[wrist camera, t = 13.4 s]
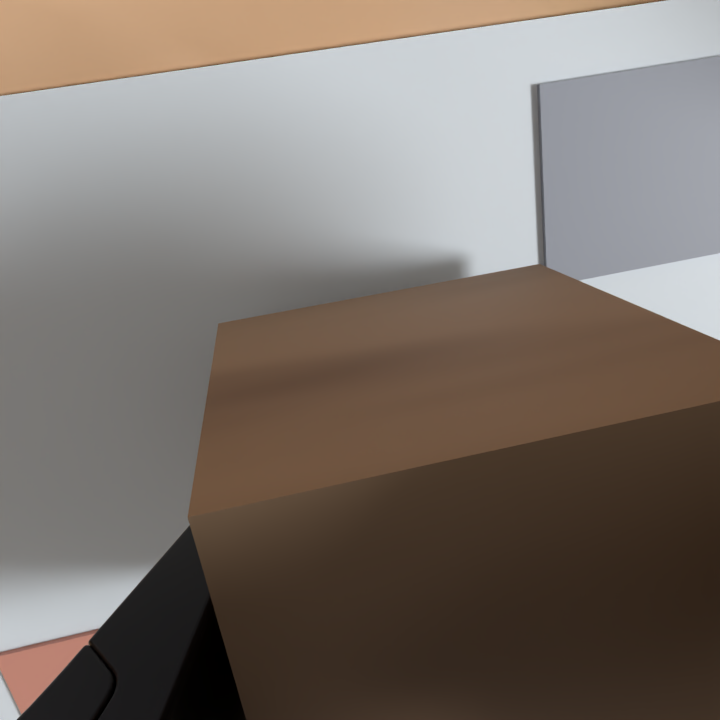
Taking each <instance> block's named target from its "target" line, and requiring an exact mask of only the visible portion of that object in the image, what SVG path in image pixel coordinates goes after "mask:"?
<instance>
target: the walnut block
mask: <svg viewBox="0 0 720 720" xmlns="http://www.w3.org/2000/svg"><path fill="white" fill-rule="evenodd" d="M188 521H189V524H190V527H191V531H192V534H193V538H194V541H195V545H196V548H197V552H198V555H199V558H200V562H201V565H202V569H203V572H204V576H205V579H206V583H207V586H208V590H209V593H210V596H211V600H212V603H213V607H214V610H215V614H216V617H217V621H218V624H219V627H220V631H221V634H222V638H223V641H224V645H225V648H226V652H227V655H228V659H229V662H230V665H231V669H232V672H233V676H234V679H235V683H236V686H237V690H238V693H239V696H240V700H241V703H242V707H243V710H244V714H245V717H246V720H720V340H717V339H715V338H713V337H710V336H708V335H706V334H703V333H701V332H699V331H696V330H694V329H692V328H689V327H687V326H685V325H682V324H680V323H677V322H675V321H673V320H670V319H668V318H666V317H663V316H661V315H659V314H656V313H654V312H652V311H649V310H647V309H645V308H642V307H640V306H637V305H635V304H633V303H630V302H628V301H626V300H623V299H621V298H619V297H616V296H614V295H612V294H609V293H607V292H605V291H602V290H600V289H597V288H595V287H593V286H590V285H588V284H586V283H583V282H581V281H579V280H576V279H574V278H572V277H569V276H567V275H564V274H562V273H560V272H557V271H555V270H553V269H550V268H548V267H546V266H543V265H541V264H536V265H531V266H526V267H520V268H515V269H509V270H504V271H499V272H493V273H488V274H482V275H477V276H472V277H466V278H461V279H455V280H450V281H445V282H439V283H434V284H428V285H423V286H418V287H412V288H407V289H401V290H396V291H391V292H385V293H380V294H374V295H369V296H364V297H358V298H353V299H347V300H342V301H337V302H331V303H326V304H320V305H315V306H310V307H304V308H299V309H293V310H288V311H283V312H277V313H272V314H266V315H261V316H256V317H250V318H245V319H239V320H234V321H229V322H223V323H218V328H217V335H216V341H215V347H214V354H213V360H212V366H211V373H210V379H209V385H208V391H207V398H206V404H205V410H204V417H203V423H202V429H201V436H200V442H199V448H198V454H197V461H196V467H195V473H194V480H193V486H192V492H191V499H190V505H189V511H188Z"/></svg>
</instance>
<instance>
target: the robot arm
mask: <svg viewBox="0 0 720 720" xmlns="http://www.w3.org/2000/svg"><path fill="white" fill-rule="evenodd" d="M17 720H246V717H245V714H244V710H243V707H242V703H241V700H240V696H239V693H238V690H237V686H236V683H235V679H234V676H233V672H232V669H231V665H230V662H229V659H228V655H227V652H226V648H225V645H224V641H223V638H222V634H221V631H220V627H219V624H218V621H217V617H216V614H215V610H214V607H213V603H212V600H211V596H210V593H209V590H208V586H207V583H206V579H205V576H204V572H203V569H202V565H201V562H200V558H199V555H198V552H197V548H196V545H195V541H194V538H193V534H192V531H191V527H190V525H189V526H188V527H187V529H186V530H185V531H184V532H183V533H182V534H181V535H180V537H179V538H178V539H177V540H176V541H175V542H174V544H173V545H172V546H171V547H170V548H169V549H168V550H167V552H166V553H165V554H164V555H163V556H162V557H161V558H160V560H159V561H158V562H157V563H156V564H155V565H154V566H153V568H152V569H151V570H150V571H149V572H148V573H147V574H146V576H145V577H144V578H143V579H142V580H141V581H140V582H139V584H138V585H137V586H136V587H135V588H134V589H133V591H132V592H131V593H130V594H129V595H128V596H127V597H126V599H125V600H124V601H123V602H122V603H121V604H120V605H119V607H118V608H117V609H116V610H115V611H114V612H113V613H112V615H111V616H110V617H109V618H108V619H107V620H106V621H105V623H104V624H103V625H102V626H101V627H100V628H99V630H98V631H97V632H96V633H95V634H94V635H93V636H92V638H91V639H90V640H89V642H88V645H85V646H83V648H82V649H81V650H80V651H79V652H78V653H77V654H76V656H75V657H74V658H73V659H72V660H71V661H70V662H69V664H68V665H67V666H66V667H65V668H64V669H63V670H62V671H61V673H60V674H59V675H58V676H57V677H56V678H55V679H54V680H53V681H52V682H51V684H50V685H49V686H48V687H47V688H46V689H45V690H44V691H43V692H42V693H41V694H40V696H39V697H38V698H37V699H36V700H35V701H34V702H33V703H32V704H31V705H30V706H29V707H28V708H27V709H26V710H25V711H24V712H23V713H22V714H21V716H20V717H19V718H18V719H17Z"/></svg>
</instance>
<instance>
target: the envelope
mask: <svg viewBox="0 0 720 720" xmlns="http://www.w3.org/2000/svg"><path fill="white" fill-rule="evenodd" d="M536 264H541V265H543V266H546V267H548V268H550V269H553V270H555V271H557V272H560V273H562V274H564V275H567V276H569V277H572V278H574V279H576V280H579V281H581V282H583V283H586V284H588V285H590V286H593V287H595V288H597V289H600V290H602V291H605V292H607V293H609V294H612V295H614V296H616V297H619V298H621V299H623V300H626V301H628V302H630V303H633V304H635V305H637V306H640V307H642V308H645V309H647V310H649V311H652V312H654V313H656V314H659V315H661V316H663V317H666V318H668V319H670V320H673V321H675V322H677V323H680V324H682V325H685V326H687V327H689V328H692V329H694V330H696V331H699V332H701V333H703V334H706V335H708V336H710V337H713V338H715V339H717V340H720V0H666V1H659V2H652V3H645V4H638V5H631V6H625V7H618V8H611V9H604V10H597V11H590V12H583V13H576V14H569V15H562V16H555V17H548V18H541V19H534V20H527V21H520V22H513V23H506V24H499V25H492V26H485V27H478V28H471V29H464V30H457V31H450V32H443V33H436V34H429V35H422V36H415V37H408V38H401V39H394V40H388V41H381V42H374V43H367V44H360V45H353V46H346V47H339V48H332V49H325V50H318V51H311V52H304V53H297V54H290V55H283V56H276V57H269V58H262V59H255V60H248V61H241V62H234V63H227V64H220V65H213V66H206V67H199V68H192V69H185V70H178V71H171V72H164V73H157V74H151V75H144V76H137V77H130V78H123V79H116V80H109V81H102V82H95V83H88V84H81V85H74V86H67V87H60V88H53V89H46V90H39V91H32V92H25V93H18V94H11V95H4V96H0V720H17V719H18V718H19V717H20V716H21V714H22V713H23V712H24V711H25V710H26V709H27V708H28V707H29V706H30V705H31V704H32V703H33V702H34V701H35V700H36V699H37V698H38V697H39V696H40V694H41V693H42V692H43V691H44V690H45V689H46V688H47V687H48V686H49V685H50V684H51V682H52V681H53V680H54V679H55V678H56V677H57V676H58V675H59V674H60V673H61V671H62V670H63V669H64V668H65V667H66V666H67V665H68V664H69V662H70V661H71V660H72V659H73V658H74V657H75V656H76V654H77V653H78V652H79V651H80V650H81V649H82V648H83V646H85V645H88V642H89V640H90V639H91V638H92V636H93V635H94V634H95V633H96V632H97V631H98V630H99V628H100V627H101V626H102V625H103V624H104V623H105V621H106V620H107V619H108V618H109V617H110V616H111V615H112V613H113V612H114V611H115V610H116V609H117V608H118V607H119V605H120V604H121V603H122V602H123V601H124V600H125V599H126V597H127V596H128V595H129V594H130V593H131V592H132V591H133V589H134V588H135V587H136V586H137V585H138V584H139V582H140V581H141V580H142V579H143V578H144V577H145V576H146V574H147V573H148V572H149V571H150V570H151V569H152V568H153V566H154V565H155V564H156V563H157V562H158V561H159V560H160V558H161V557H162V556H163V555H164V554H165V553H166V552H167V550H168V549H169V548H170V547H171V546H172V545H173V544H174V542H175V541H176V540H177V539H178V538H179V537H180V535H181V534H182V533H183V532H184V531H185V530H186V529H187V527H188V526H189V525H190V524H189V521H188V511H189V505H190V499H191V492H192V486H193V480H194V473H195V467H196V461H197V454H198V448H199V442H200V436H201V429H202V423H203V417H204V410H205V404H206V398H207V391H208V385H209V379H210V373H211V366H212V360H213V354H214V347H215V341H216V335H217V328H218V323H223V322H229V321H234V320H239V319H245V318H250V317H256V316H261V315H266V314H272V313H277V312H283V311H288V310H293V309H299V308H304V307H310V306H315V305H320V304H326V303H331V302H337V301H342V300H347V299H353V298H358V297H364V296H369V295H374V294H380V293H385V292H391V291H396V290H401V289H407V288H412V287H418V286H423V285H428V284H434V283H439V282H445V281H450V280H455V279H461V278H466V277H472V276H477V275H482V274H488V273H493V272H499V271H504V270H509V269H515V268H520V267H526V266H531V265H536Z"/></svg>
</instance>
